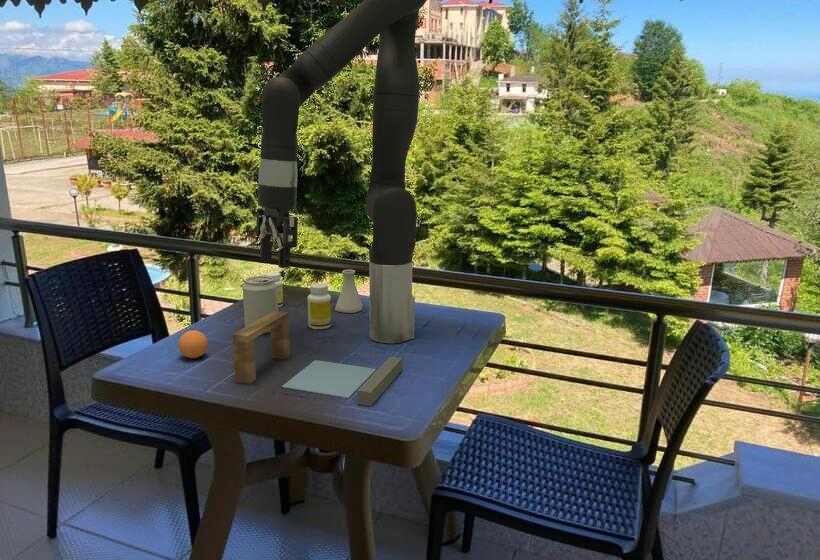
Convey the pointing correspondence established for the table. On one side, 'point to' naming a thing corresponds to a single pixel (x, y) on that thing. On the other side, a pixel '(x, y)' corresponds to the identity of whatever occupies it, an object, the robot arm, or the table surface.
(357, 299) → the flask
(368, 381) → the bar
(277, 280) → the supplement bottle
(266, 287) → the can
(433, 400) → the table surface
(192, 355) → the ball
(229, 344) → the table surface
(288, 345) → the bridge
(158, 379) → the table surface
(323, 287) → the supplement bottle
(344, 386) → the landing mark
